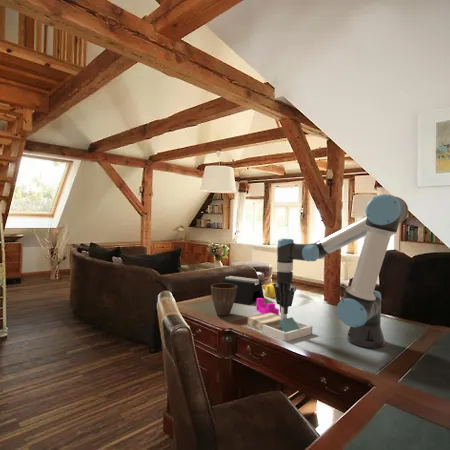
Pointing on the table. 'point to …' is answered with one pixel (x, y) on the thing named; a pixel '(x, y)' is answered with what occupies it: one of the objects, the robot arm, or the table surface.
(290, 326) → the teal rectangular block
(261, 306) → the magenta notched bracket
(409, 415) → the table surface
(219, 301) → the plant pot
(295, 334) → the box
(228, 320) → the table surface
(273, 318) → the plate
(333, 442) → the table surface
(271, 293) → the teapot
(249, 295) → the device stand
